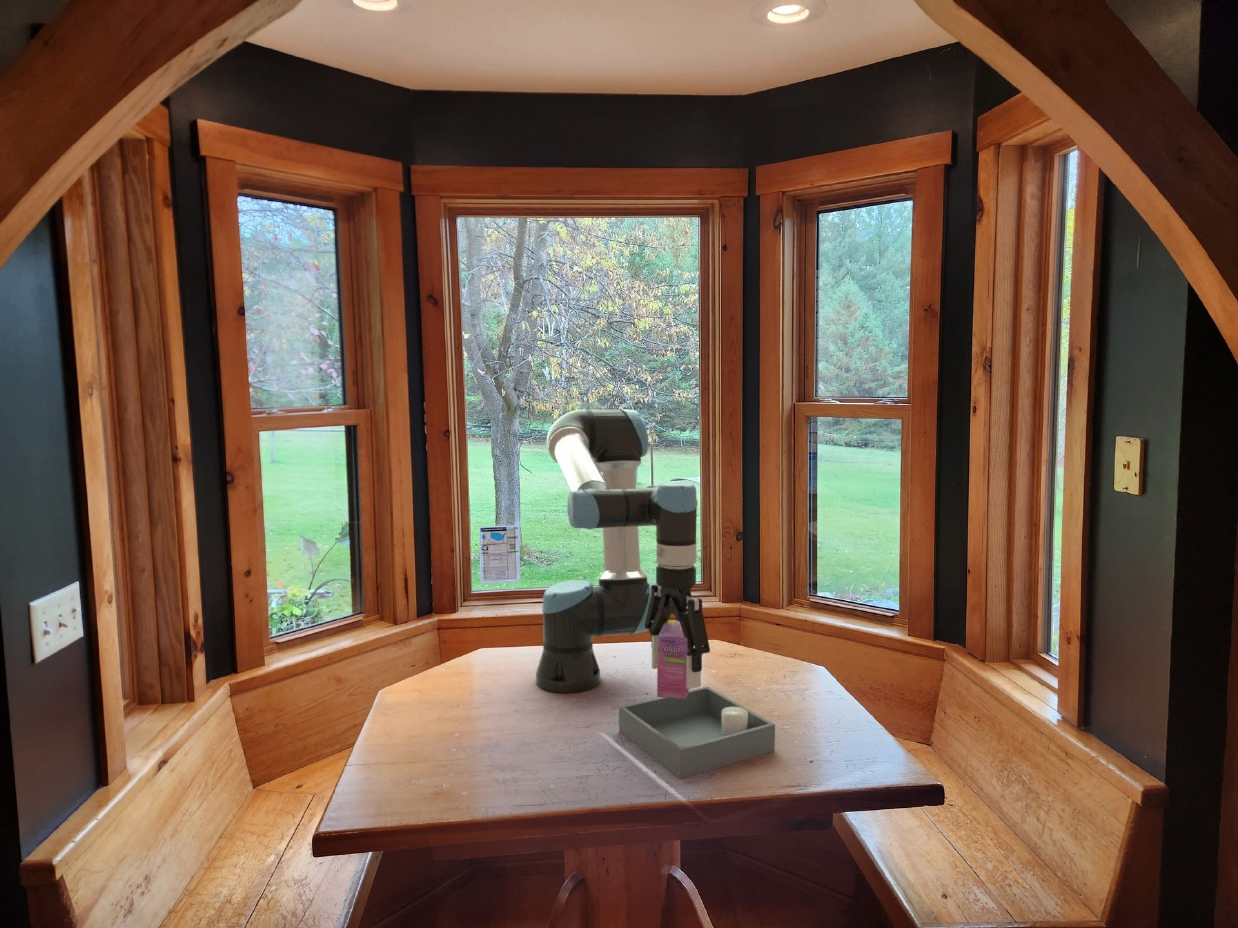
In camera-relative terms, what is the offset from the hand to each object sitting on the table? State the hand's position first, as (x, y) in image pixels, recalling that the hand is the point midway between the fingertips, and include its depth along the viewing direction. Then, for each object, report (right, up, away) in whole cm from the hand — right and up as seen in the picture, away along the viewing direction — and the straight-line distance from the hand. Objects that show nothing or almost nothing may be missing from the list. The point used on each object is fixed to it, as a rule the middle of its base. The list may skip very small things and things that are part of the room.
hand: (675, 676), depth 149 cm
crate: (+4, -14, +3) cm, 15 cm away
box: (0, -2, 0) cm, 2 cm away
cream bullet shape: (+12, -13, +2) cm, 18 cm away
